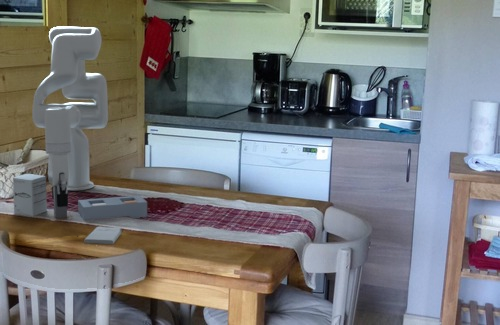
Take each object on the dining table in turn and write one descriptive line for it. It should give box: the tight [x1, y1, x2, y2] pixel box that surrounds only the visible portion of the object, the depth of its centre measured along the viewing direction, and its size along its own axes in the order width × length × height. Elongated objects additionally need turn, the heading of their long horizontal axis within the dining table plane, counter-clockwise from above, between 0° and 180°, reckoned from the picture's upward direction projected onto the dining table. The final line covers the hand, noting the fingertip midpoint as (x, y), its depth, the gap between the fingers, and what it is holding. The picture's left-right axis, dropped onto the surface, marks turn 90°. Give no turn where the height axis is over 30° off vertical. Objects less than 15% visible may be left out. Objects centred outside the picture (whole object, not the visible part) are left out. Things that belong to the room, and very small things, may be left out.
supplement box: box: [12, 173, 48, 217], centre depth 210 cm, size 7×7×13 cm
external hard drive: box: [83, 226, 124, 245], centre depth 192 cm, size 2×8×12 cm
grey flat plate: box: [46, 211, 75, 222], centre depth 207 cm, size 8×7×1 cm
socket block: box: [77, 194, 148, 221], centre depth 212 cm, size 9×20×5 cm, turn 114°
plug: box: [52, 185, 68, 218], centre depth 206 cm, size 3×3×11 cm
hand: (60, 202), depth 206 cm, fingers open, 9 cm apart
